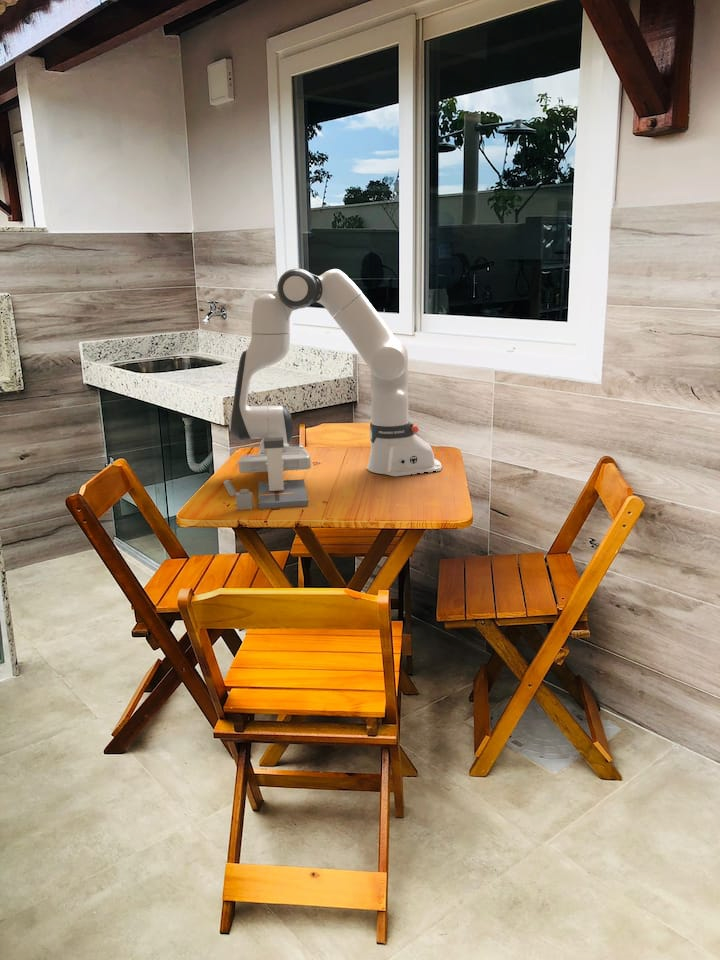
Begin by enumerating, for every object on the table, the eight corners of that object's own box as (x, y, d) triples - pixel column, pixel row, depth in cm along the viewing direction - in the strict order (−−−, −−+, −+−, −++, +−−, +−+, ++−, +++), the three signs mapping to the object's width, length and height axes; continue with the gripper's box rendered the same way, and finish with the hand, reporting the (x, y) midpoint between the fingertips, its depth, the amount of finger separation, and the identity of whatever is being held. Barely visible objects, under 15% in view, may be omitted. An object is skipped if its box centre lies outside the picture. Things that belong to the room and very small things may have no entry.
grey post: (285, 486, 218) (282, 437, 214) (286, 490, 215) (283, 440, 211) (266, 487, 218) (263, 438, 214) (267, 491, 214) (263, 441, 210)
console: (304, 484, 227) (303, 478, 226) (308, 505, 208) (308, 500, 207) (258, 487, 225) (258, 481, 225) (258, 509, 206) (258, 503, 206)
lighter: (253, 507, 208) (251, 478, 206) (252, 509, 206) (250, 480, 204) (226, 508, 208) (223, 479, 205) (225, 510, 206) (223, 481, 204)
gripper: (237, 448, 227) (236, 461, 214) (308, 444, 230) (311, 456, 217) (239, 469, 229) (237, 483, 216) (309, 465, 231) (312, 478, 218)
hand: (275, 469), depth 216 cm, fingers closed, pressing on grey post
